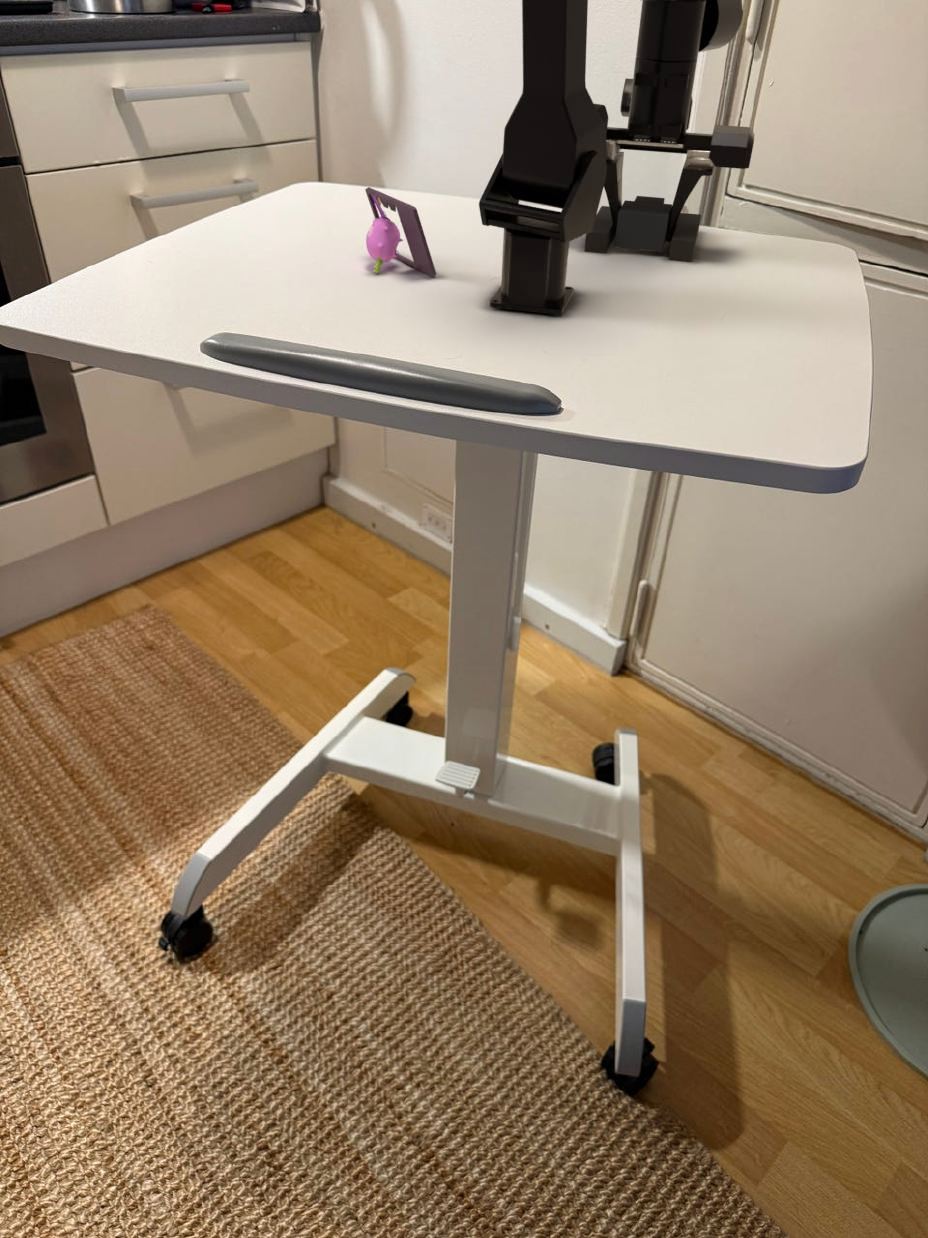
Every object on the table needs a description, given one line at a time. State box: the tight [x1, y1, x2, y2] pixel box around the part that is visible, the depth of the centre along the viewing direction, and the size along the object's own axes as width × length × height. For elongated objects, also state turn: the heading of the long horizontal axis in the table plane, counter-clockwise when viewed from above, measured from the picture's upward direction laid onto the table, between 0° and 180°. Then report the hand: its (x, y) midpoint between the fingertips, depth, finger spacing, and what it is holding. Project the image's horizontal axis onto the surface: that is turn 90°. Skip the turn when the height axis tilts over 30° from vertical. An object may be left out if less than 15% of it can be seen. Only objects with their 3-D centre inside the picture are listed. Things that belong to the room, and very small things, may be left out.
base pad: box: [583, 205, 702, 262], centre depth 96 cm, size 11×11×2 cm
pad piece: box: [614, 195, 673, 253], centre depth 94 cm, size 8×5×4 cm, turn 165°
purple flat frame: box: [365, 186, 437, 278], centre depth 86 cm, size 7×5×9 cm
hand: (642, 233), depth 94 cm, fingers closed on pad piece, 5 cm apart
